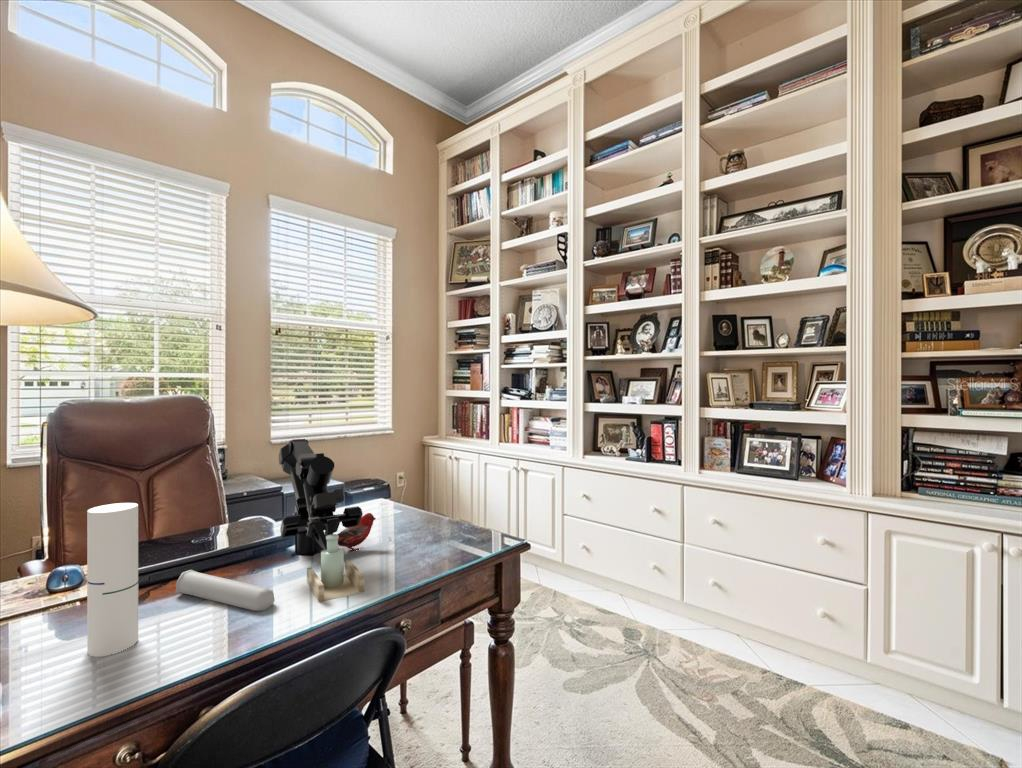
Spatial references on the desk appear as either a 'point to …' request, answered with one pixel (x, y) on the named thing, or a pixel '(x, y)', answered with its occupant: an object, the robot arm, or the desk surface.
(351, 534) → the decorative bird figurine
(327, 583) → the bottle
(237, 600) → the tube
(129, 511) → the cylindrical container
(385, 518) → the desk surface
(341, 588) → the cradle
